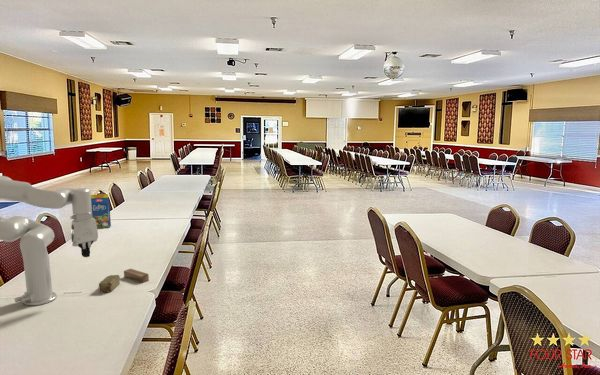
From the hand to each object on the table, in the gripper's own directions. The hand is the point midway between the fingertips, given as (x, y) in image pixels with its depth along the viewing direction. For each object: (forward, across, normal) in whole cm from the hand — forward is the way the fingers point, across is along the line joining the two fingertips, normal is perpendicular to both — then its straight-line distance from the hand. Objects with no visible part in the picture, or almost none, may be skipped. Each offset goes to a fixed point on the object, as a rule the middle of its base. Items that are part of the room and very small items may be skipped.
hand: (86, 256), depth 187 cm
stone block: (+19, +10, +1) cm, 22 cm away
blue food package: (+19, +77, +112) cm, 137 cm away
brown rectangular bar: (+19, +25, 0) cm, 31 cm away
